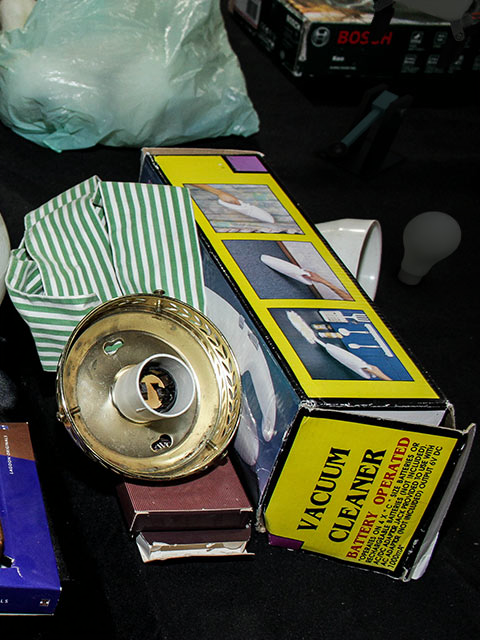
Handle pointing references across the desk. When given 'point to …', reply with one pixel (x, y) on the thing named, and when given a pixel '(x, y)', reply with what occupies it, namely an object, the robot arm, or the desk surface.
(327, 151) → the switch lever
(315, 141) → the desk surface
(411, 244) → the lightbulb
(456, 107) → the desk surface
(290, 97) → the desk surface
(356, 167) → the switch bracket
